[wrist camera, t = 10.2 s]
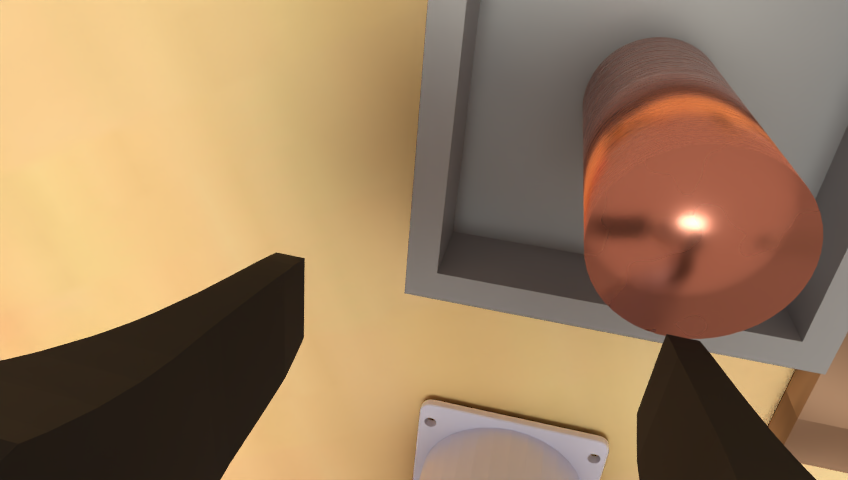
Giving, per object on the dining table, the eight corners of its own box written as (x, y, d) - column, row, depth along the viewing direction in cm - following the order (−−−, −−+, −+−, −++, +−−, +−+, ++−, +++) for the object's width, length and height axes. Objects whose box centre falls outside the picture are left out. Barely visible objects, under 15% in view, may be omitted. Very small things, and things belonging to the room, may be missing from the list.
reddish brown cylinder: (702, 174, 20) (780, 355, 12) (572, 159, 20) (568, 320, 13) (739, 43, 18) (859, 159, 10) (594, 31, 19) (605, 130, 11)
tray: (792, 308, 22) (825, 374, 19) (426, 242, 24) (404, 293, 21) (988, -122, 16) (1086, -125, 13) (466, -166, 17) (442, -177, 14)
